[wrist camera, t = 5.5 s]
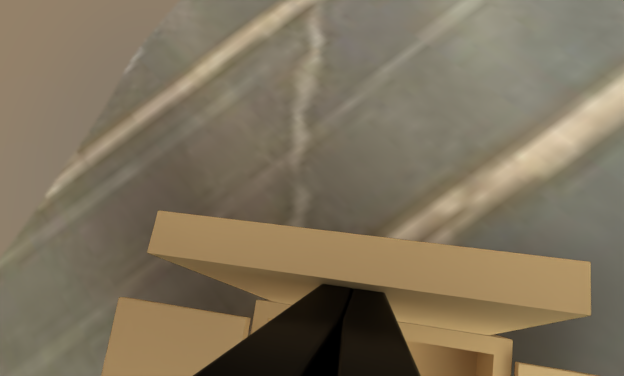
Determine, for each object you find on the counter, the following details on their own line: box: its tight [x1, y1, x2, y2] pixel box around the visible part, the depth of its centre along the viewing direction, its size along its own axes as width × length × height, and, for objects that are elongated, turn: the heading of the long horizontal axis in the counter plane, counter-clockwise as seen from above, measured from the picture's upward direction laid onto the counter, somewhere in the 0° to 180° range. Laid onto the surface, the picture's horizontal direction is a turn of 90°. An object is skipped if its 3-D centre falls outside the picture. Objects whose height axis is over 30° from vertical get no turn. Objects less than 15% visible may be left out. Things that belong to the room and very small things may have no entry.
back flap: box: [147, 210, 591, 335], centre depth 11 cm, size 1×6×8 cm, turn 82°
